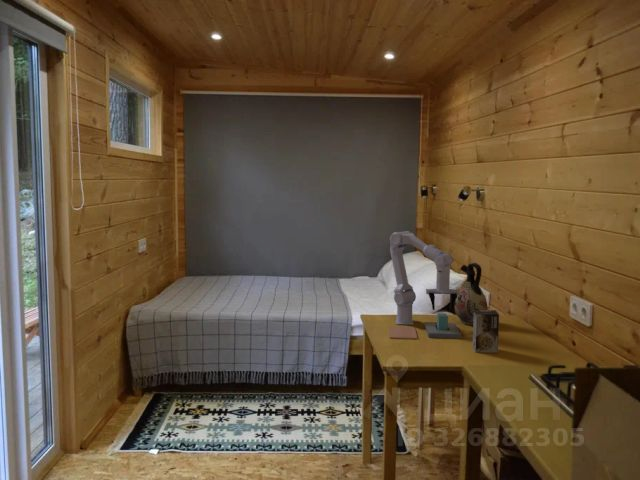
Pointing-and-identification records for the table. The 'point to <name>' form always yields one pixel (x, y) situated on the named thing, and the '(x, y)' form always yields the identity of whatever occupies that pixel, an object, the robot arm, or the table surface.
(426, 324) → the pocket board
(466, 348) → the table surface
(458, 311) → the ceramic jug
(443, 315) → the teal block
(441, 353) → the table surface
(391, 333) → the terracotta tile
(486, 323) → the coffee box
